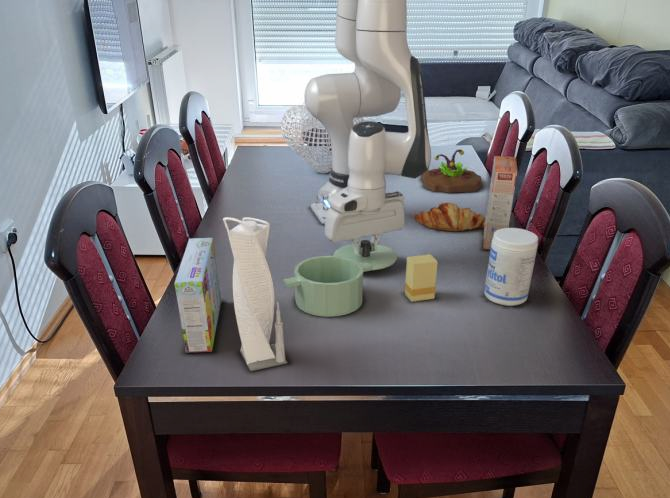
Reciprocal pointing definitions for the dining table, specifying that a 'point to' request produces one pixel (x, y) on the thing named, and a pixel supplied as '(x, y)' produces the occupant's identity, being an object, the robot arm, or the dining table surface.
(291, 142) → the heart
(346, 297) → the pot
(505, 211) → the cracker box
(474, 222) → the croissant
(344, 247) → the pot lid
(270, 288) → the skyscraper
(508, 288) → the supplement tub
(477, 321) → the dining table surface
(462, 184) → the plant
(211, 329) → the snack box
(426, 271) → the butter
